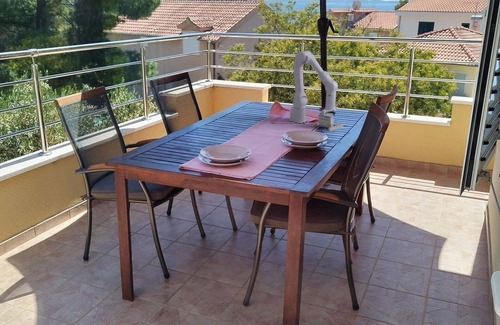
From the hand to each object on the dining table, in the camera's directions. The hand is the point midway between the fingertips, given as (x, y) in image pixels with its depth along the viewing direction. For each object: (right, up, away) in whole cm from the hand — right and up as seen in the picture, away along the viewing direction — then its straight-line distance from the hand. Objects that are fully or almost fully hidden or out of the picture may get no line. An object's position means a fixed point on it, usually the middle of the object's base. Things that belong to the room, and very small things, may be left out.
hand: (329, 123), depth 302 cm
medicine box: (-2, -2, -1) cm, 3 cm away
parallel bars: (-1, -2, 0) cm, 2 cm away
